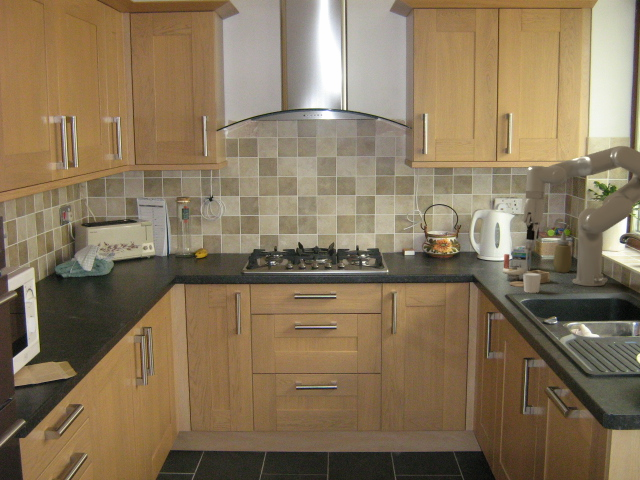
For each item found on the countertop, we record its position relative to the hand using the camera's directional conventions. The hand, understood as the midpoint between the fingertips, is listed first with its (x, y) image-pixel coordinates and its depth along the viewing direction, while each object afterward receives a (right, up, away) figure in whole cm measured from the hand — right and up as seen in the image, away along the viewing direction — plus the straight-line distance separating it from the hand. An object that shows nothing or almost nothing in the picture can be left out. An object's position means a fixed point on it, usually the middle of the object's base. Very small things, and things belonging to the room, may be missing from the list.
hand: (532, 238), depth 302 cm
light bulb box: (+4, -15, +29) cm, 33 cm away
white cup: (-5, -21, -14) cm, 26 cm away
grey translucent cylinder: (-1, -5, +1) cm, 5 cm away
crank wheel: (-6, -15, +7) cm, 17 cm away
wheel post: (-6, -18, +7) cm, 20 cm away
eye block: (+4, -18, +5) cm, 19 cm away
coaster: (-5, -19, -2) cm, 20 cm away
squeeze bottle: (+21, -15, +25) cm, 36 cm away
